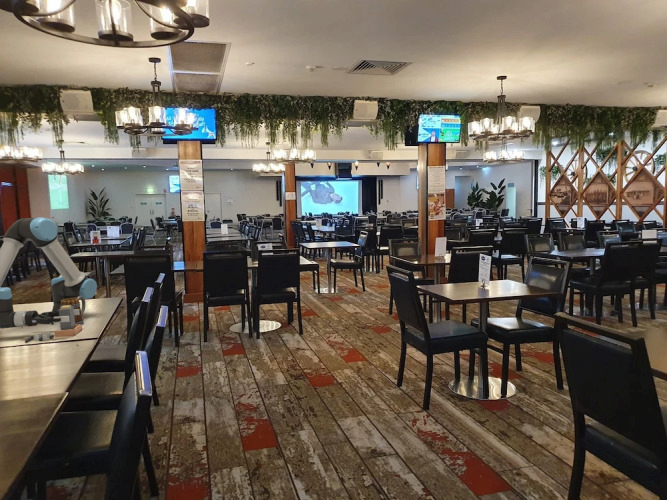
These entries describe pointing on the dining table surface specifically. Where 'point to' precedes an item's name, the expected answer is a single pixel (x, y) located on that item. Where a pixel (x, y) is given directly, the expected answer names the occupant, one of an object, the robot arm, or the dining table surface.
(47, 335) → the cable clips
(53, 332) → the board
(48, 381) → the dining table surface
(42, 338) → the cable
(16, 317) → the robot arm
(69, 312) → the grey tall block
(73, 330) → the end holder
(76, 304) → the mug
